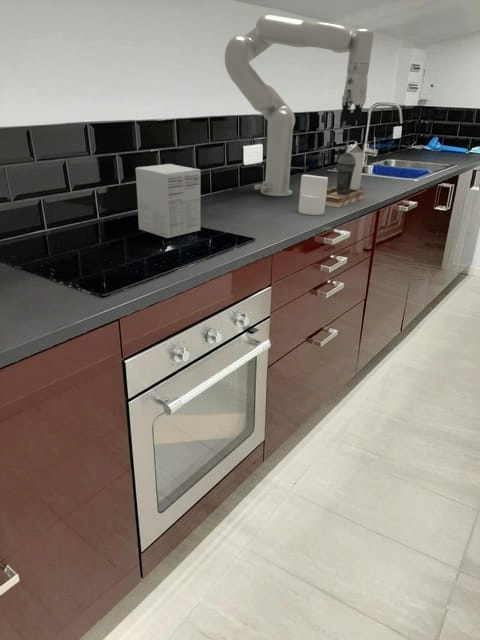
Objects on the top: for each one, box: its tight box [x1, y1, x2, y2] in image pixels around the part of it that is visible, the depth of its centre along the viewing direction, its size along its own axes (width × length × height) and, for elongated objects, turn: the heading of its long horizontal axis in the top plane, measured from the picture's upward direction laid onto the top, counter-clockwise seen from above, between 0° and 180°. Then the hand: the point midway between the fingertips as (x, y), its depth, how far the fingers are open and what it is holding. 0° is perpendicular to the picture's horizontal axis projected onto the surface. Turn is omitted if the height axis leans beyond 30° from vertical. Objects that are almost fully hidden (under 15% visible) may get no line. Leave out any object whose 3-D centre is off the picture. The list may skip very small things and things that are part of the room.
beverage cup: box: [336, 139, 356, 195], centre depth 189 cm, size 7×7×20 cm
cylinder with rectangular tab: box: [298, 174, 329, 216], centre depth 169 cm, size 9×9×12 cm
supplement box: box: [135, 163, 201, 239], centre depth 140 cm, size 13×13×18 cm
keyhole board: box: [325, 185, 365, 208], centre depth 189 cm, size 22×13×3 cm, turn 144°
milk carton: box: [348, 141, 365, 190], centre depth 212 cm, size 7×7×19 cm
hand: (350, 121), depth 182 cm, fingers open, 9 cm apart
